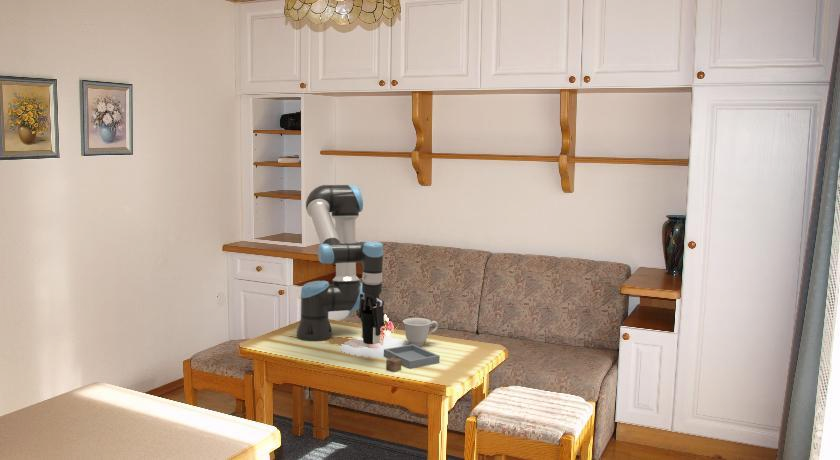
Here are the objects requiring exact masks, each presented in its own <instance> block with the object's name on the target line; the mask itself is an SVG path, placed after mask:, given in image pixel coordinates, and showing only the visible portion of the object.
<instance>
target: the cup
mask: <svg viewBox="0 0 840 460" xmlns="http://www.w3.org/2000/svg"><path fill="white" fill-rule="evenodd" d="M361 315H362V321H361V326H362V327H361V331H362V330H363V338H362V341H363V344H366V345H374V344H373V326H375V325H374V320H373V318H374V314H372V310H371V309H370V312H369V313H364V310H363V311H362V312H361Z"/></svg>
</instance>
